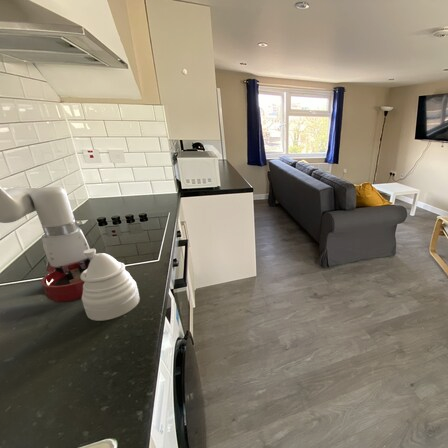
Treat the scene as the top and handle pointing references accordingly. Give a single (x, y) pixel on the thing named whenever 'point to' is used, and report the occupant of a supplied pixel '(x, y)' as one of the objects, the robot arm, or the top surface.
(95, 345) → the top surface
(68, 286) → the bowl
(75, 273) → the t-shaped block
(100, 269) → the honey pot
